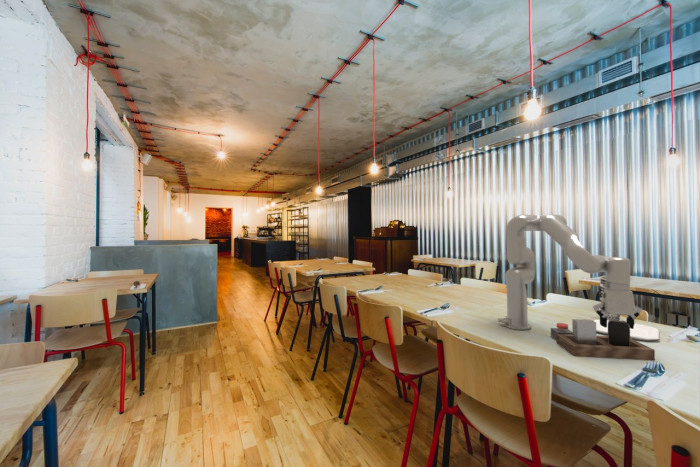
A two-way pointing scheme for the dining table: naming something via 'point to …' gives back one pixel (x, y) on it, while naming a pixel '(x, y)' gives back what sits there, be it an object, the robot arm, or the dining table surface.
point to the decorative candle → (601, 288)
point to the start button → (562, 326)
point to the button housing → (559, 332)
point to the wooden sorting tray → (599, 344)
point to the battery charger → (618, 333)
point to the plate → (634, 331)
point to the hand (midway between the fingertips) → (616, 327)
